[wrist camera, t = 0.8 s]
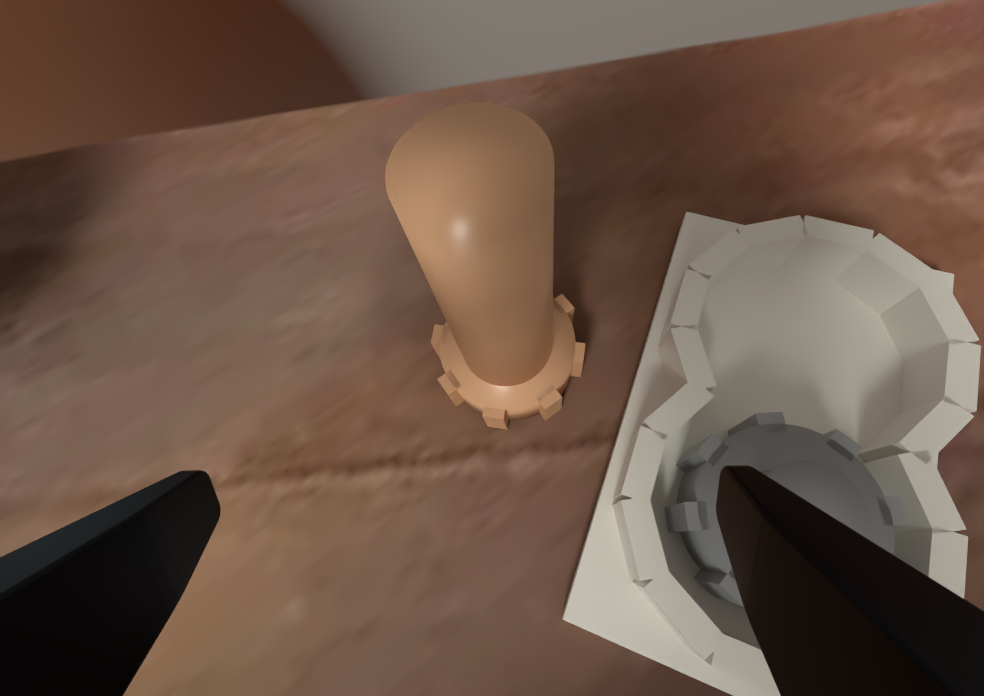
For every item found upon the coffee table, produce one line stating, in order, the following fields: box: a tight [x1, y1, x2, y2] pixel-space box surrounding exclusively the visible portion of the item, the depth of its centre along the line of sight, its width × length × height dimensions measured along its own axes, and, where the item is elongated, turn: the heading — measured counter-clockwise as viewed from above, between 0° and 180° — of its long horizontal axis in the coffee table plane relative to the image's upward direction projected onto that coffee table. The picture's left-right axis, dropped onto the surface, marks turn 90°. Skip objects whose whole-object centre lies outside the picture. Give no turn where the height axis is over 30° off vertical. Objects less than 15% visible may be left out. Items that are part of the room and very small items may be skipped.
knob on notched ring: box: [385, 102, 586, 430], centre depth 18 cm, size 7×7×13 cm
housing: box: [562, 212, 981, 696], centre depth 18 cm, size 19×12×6 cm, turn 159°
